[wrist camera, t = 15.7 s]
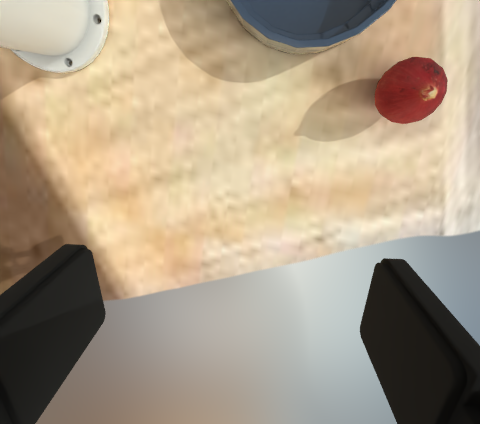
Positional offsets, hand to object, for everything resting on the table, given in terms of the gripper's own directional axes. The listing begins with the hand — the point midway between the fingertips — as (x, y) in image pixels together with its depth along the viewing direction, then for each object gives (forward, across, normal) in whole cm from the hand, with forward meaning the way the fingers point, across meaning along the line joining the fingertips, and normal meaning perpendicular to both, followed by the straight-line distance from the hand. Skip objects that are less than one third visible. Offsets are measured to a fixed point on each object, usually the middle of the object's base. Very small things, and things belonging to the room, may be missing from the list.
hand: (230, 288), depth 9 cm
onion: (+26, -15, -6) cm, 31 cm away
